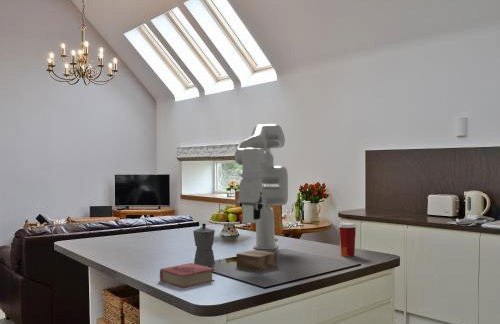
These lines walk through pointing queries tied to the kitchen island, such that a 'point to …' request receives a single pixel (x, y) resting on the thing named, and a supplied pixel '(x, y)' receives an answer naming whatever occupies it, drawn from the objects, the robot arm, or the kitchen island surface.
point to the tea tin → (249, 213)
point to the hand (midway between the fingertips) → (251, 218)
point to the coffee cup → (347, 239)
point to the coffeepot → (204, 246)
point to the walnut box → (256, 260)
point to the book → (186, 275)
